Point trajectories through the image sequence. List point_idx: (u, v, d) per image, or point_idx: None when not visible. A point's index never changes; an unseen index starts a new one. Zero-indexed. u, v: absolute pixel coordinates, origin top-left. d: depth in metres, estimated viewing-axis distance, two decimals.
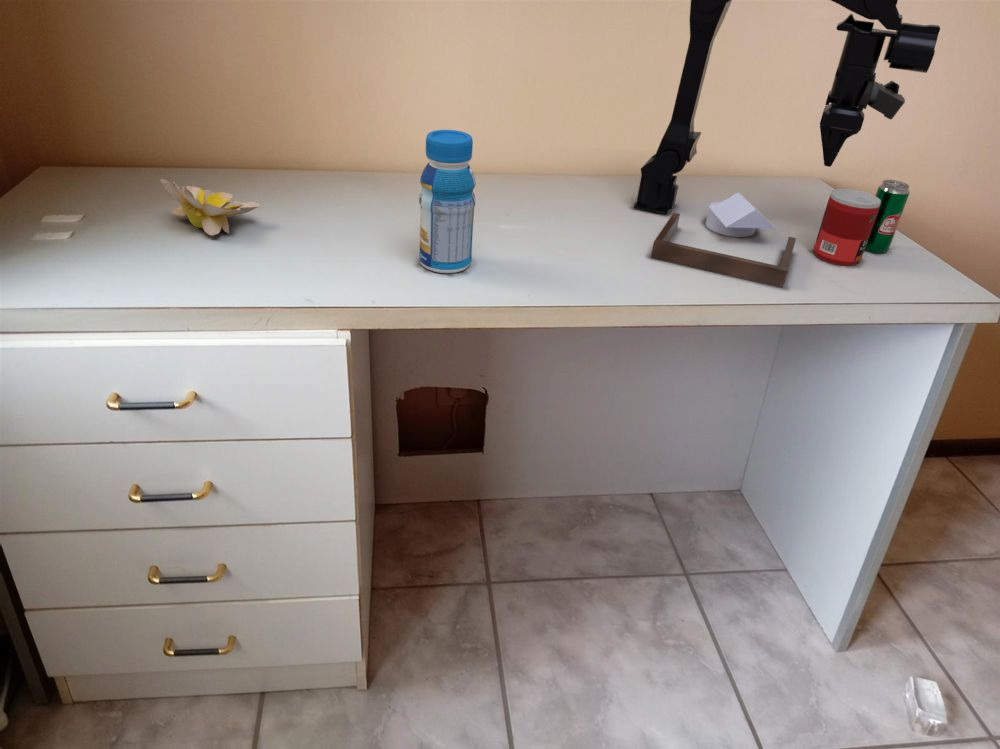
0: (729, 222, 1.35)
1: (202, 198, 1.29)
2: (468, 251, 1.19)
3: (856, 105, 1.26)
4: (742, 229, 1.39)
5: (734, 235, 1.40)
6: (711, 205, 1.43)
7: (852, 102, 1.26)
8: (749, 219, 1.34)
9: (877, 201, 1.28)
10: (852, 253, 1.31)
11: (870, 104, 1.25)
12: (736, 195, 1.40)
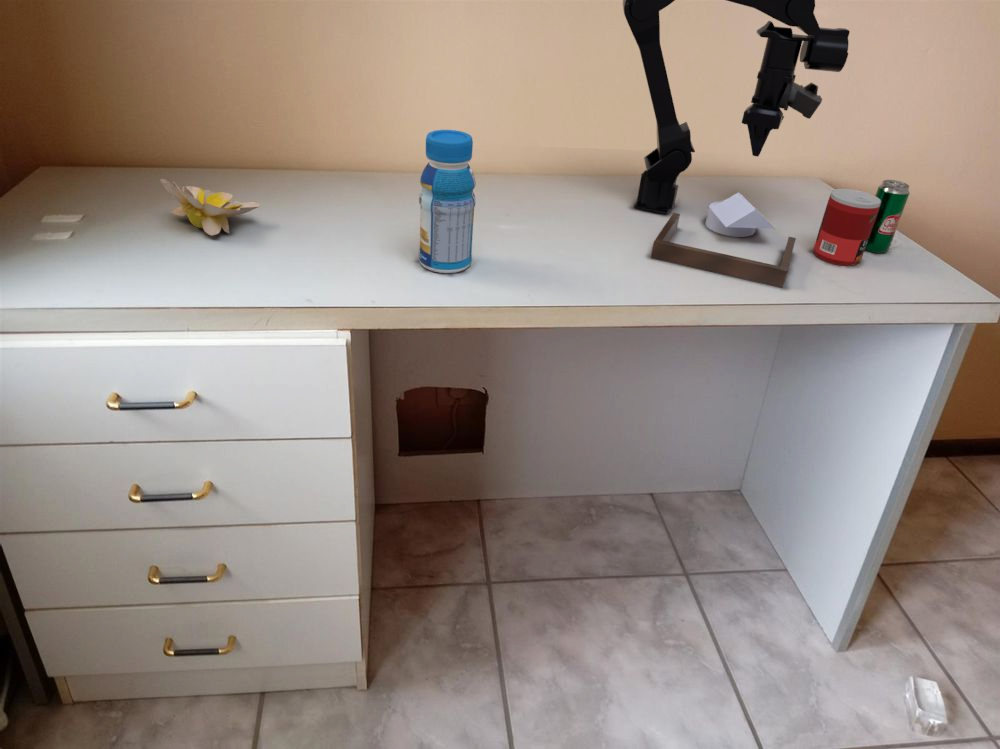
0: (729, 222, 1.35)
1: (202, 198, 1.29)
2: (468, 251, 1.19)
3: (777, 105, 1.35)
4: (742, 229, 1.39)
5: (734, 235, 1.40)
6: (711, 205, 1.43)
7: (773, 102, 1.35)
8: (749, 219, 1.34)
9: (877, 201, 1.28)
10: (852, 253, 1.31)
11: (789, 104, 1.35)
12: (736, 195, 1.40)
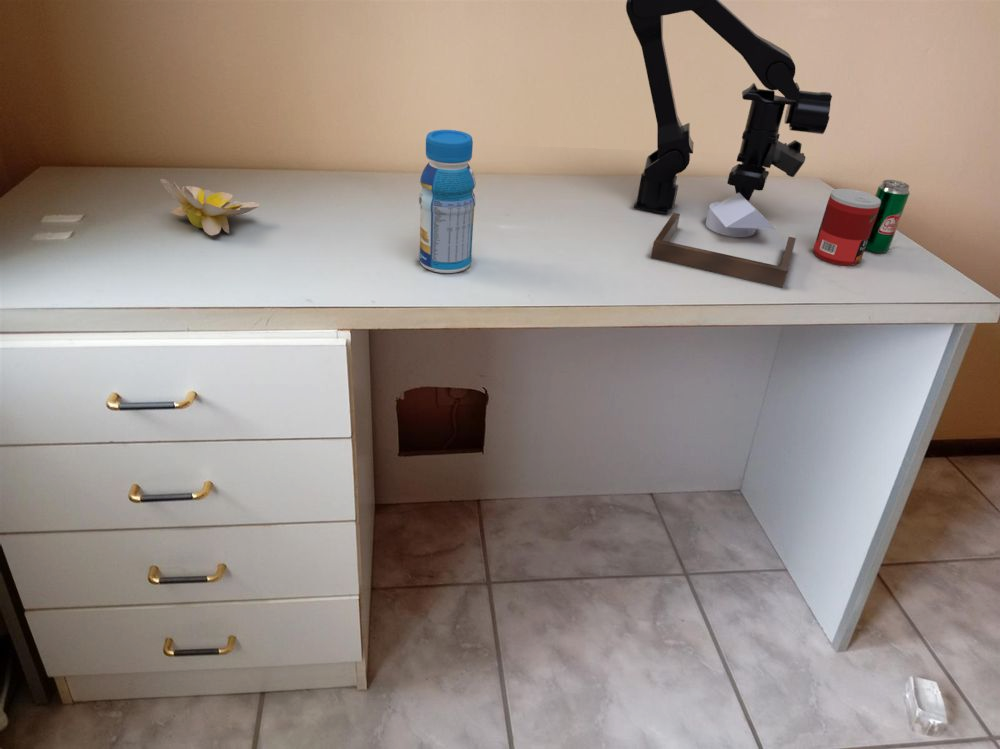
0: (729, 222, 1.35)
1: (202, 198, 1.29)
2: (468, 251, 1.19)
3: (761, 164, 1.39)
4: (742, 229, 1.39)
5: (734, 235, 1.40)
6: (711, 205, 1.43)
7: (758, 161, 1.39)
8: (749, 219, 1.34)
9: (877, 201, 1.28)
10: (852, 253, 1.31)
11: (774, 163, 1.39)
12: (736, 195, 1.40)
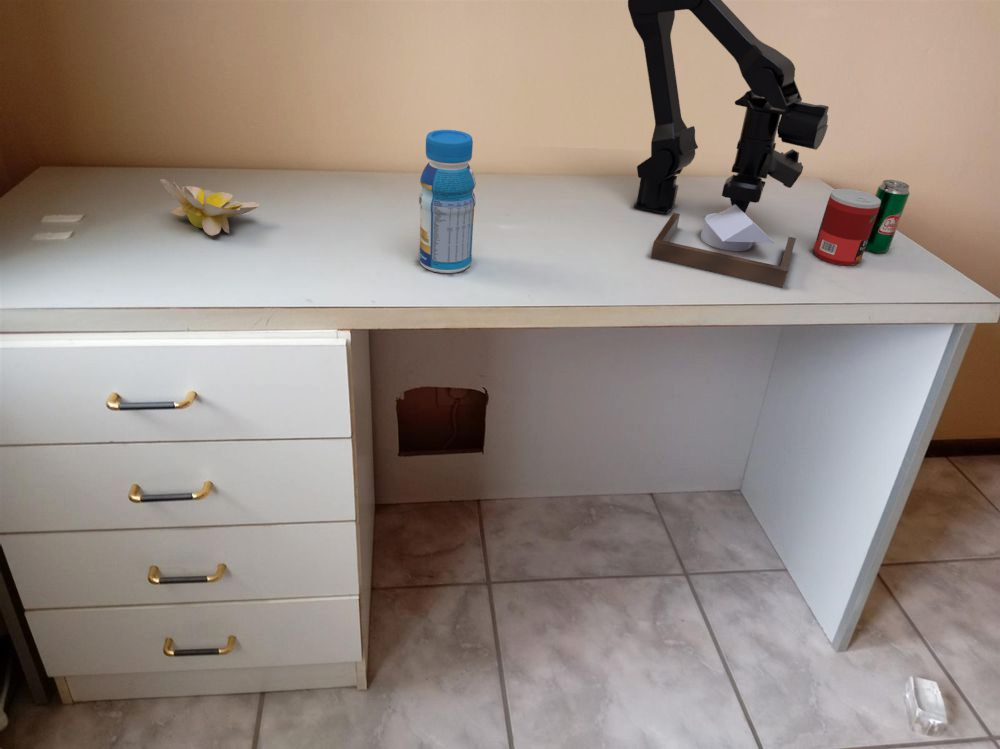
0: (726, 236, 1.29)
1: (202, 198, 1.29)
2: (468, 251, 1.19)
3: (757, 175, 1.34)
4: (739, 243, 1.34)
5: (731, 249, 1.34)
6: (706, 218, 1.38)
7: (753, 172, 1.34)
8: (747, 233, 1.29)
9: (877, 201, 1.28)
10: (852, 253, 1.31)
11: (770, 174, 1.33)
12: (732, 207, 1.34)
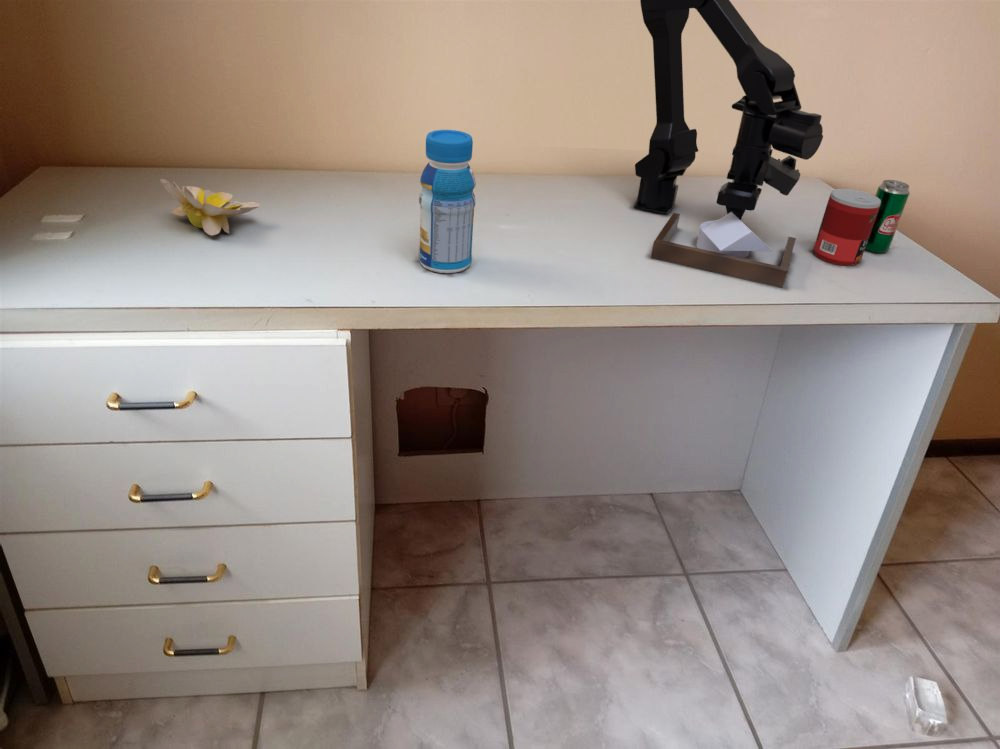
0: (724, 245, 1.26)
1: (202, 198, 1.29)
2: (468, 251, 1.19)
3: (753, 182, 1.31)
4: (736, 251, 1.31)
5: None
6: (702, 226, 1.34)
7: (749, 179, 1.30)
8: (745, 242, 1.25)
9: (877, 201, 1.28)
10: (852, 253, 1.31)
11: (766, 181, 1.30)
12: (729, 215, 1.31)
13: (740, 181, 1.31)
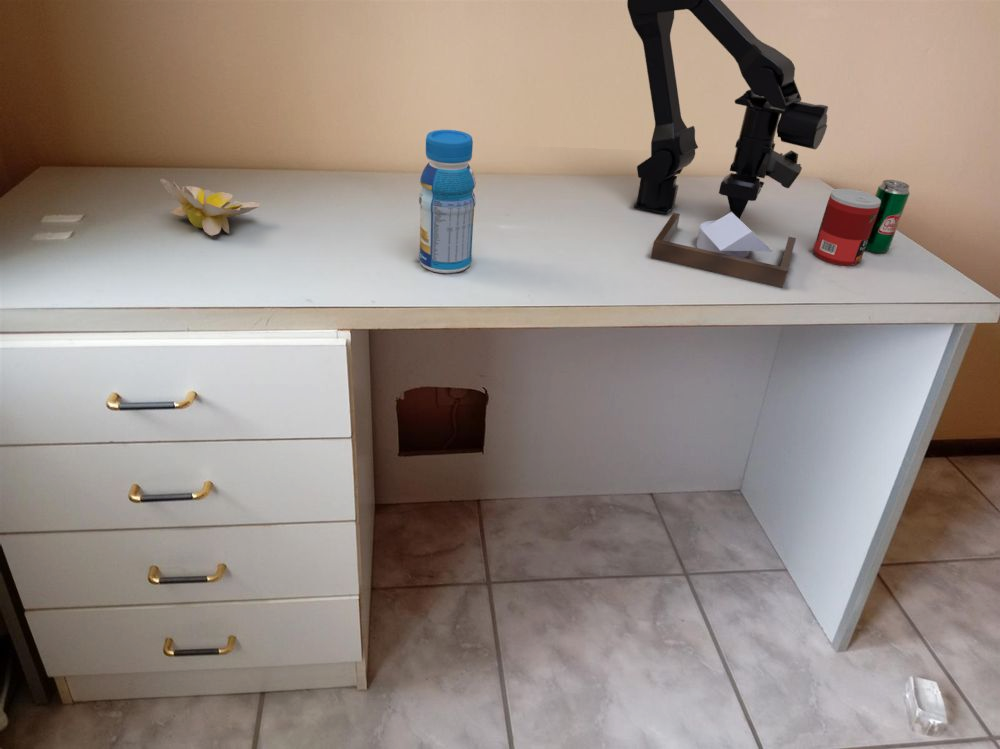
0: (724, 245, 1.26)
1: (202, 198, 1.29)
2: (468, 251, 1.19)
3: (755, 174, 1.34)
4: (736, 251, 1.31)
5: None
6: (702, 225, 1.34)
7: (751, 171, 1.33)
8: (745, 241, 1.25)
9: (877, 201, 1.28)
10: (852, 253, 1.31)
11: (768, 174, 1.33)
12: (729, 215, 1.31)
13: (743, 173, 1.34)
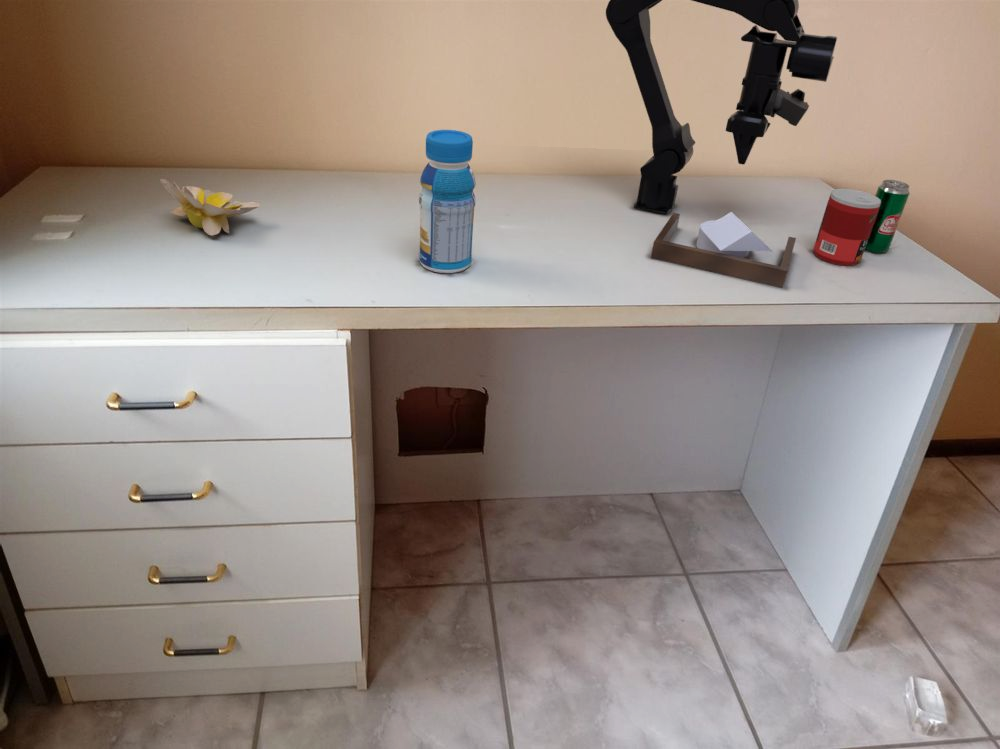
0: (724, 245, 1.26)
1: (202, 198, 1.29)
2: (468, 251, 1.19)
3: (762, 112, 1.32)
4: (736, 251, 1.31)
5: None
6: (702, 225, 1.34)
7: (758, 109, 1.32)
8: (745, 242, 1.25)
9: (877, 201, 1.28)
10: (852, 253, 1.31)
11: (775, 111, 1.31)
12: (729, 215, 1.31)
13: (749, 111, 1.32)
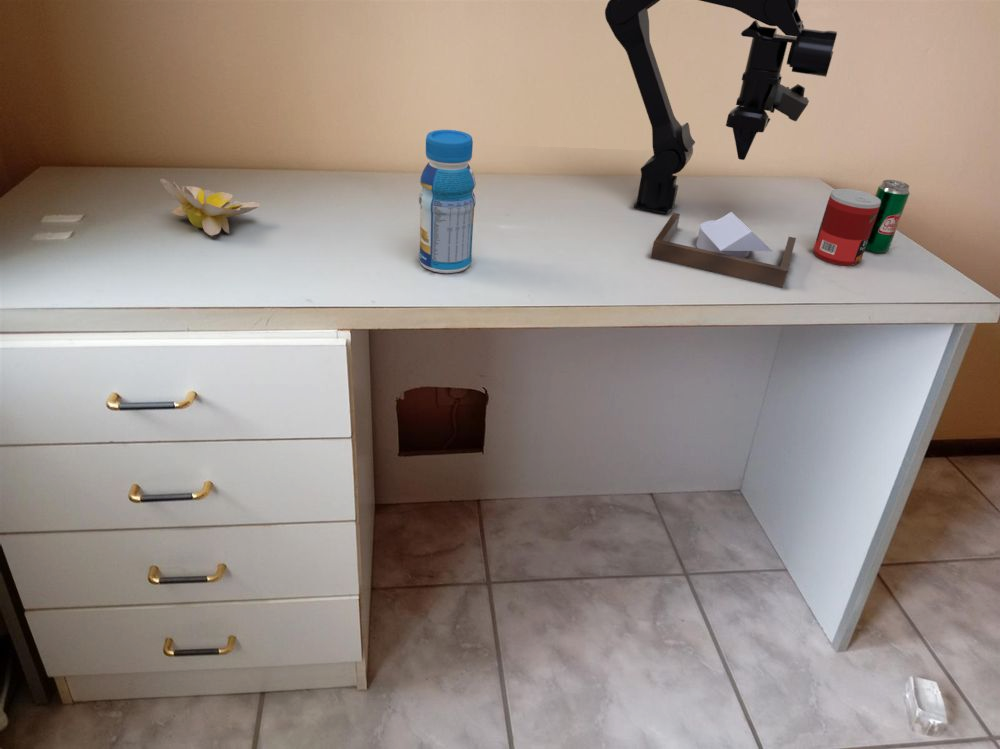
0: (724, 245, 1.26)
1: (202, 198, 1.29)
2: (468, 251, 1.19)
3: (762, 107, 1.32)
4: (736, 251, 1.31)
5: None
6: (702, 225, 1.34)
7: (758, 105, 1.32)
8: (745, 241, 1.25)
9: (877, 201, 1.28)
10: (852, 253, 1.31)
11: (775, 106, 1.31)
12: (729, 215, 1.31)
13: (749, 107, 1.32)
